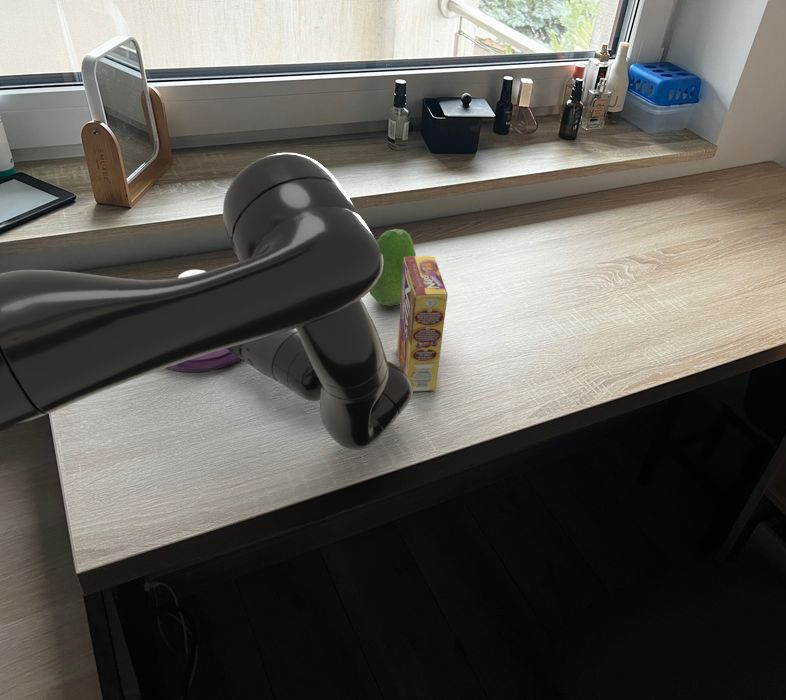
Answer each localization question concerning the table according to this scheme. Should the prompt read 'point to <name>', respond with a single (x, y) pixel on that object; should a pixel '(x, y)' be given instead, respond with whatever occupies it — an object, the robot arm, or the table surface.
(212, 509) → the table surface
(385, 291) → the avocado
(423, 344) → the candy box
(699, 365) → the table surface
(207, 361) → the plum dish
